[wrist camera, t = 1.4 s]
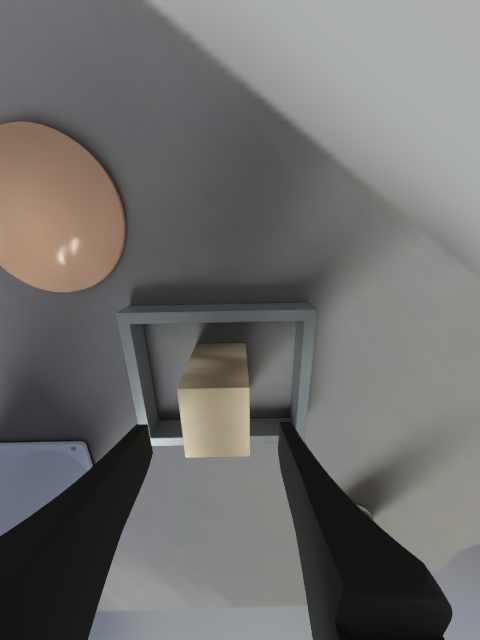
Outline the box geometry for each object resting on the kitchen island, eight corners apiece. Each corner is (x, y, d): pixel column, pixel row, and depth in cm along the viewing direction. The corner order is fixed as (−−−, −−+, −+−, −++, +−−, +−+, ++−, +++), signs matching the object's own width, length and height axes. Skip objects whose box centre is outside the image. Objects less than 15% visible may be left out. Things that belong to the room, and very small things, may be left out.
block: (200, 395, 19) (185, 457, 14) (196, 343, 18) (176, 389, 12) (246, 394, 19) (249, 456, 14) (245, 342, 18) (249, 387, 12)
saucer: (2, 292, 16) (-5, 293, 16) (-57, 127, 13) (-68, 122, 13) (137, 289, 16) (134, 291, 16) (110, 124, 13) (105, 120, 13)
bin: (151, 427, 20) (142, 446, 18) (129, 305, 17) (115, 313, 15) (298, 424, 20) (304, 442, 18) (308, 302, 17) (317, 309, 15)
